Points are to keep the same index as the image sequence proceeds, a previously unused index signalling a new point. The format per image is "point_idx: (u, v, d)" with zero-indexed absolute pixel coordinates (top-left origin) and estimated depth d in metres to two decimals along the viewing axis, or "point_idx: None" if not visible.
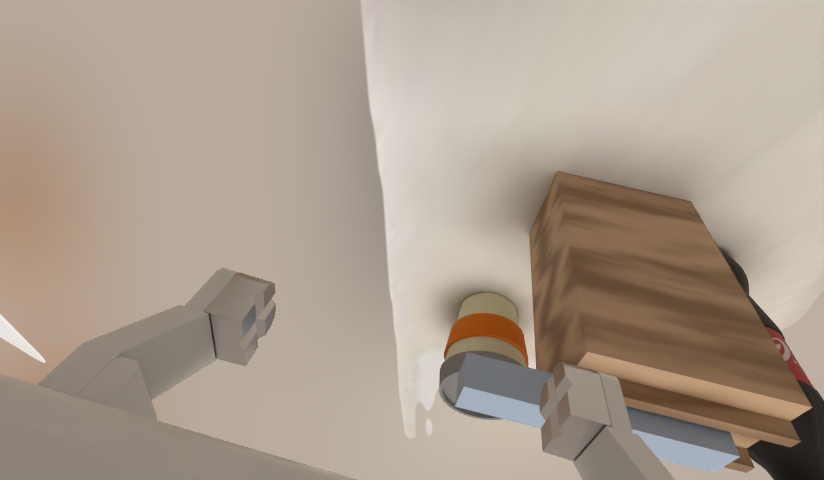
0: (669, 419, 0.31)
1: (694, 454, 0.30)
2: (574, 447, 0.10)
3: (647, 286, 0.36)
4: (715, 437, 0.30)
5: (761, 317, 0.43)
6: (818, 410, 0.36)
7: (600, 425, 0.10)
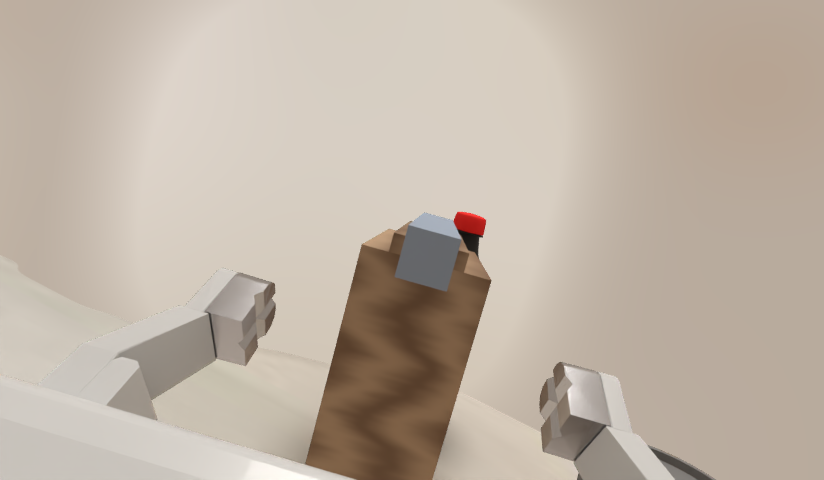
0: None
1: (435, 216, 0.40)
2: (574, 447, 0.10)
3: None
4: None
5: None
6: None
7: (600, 425, 0.10)
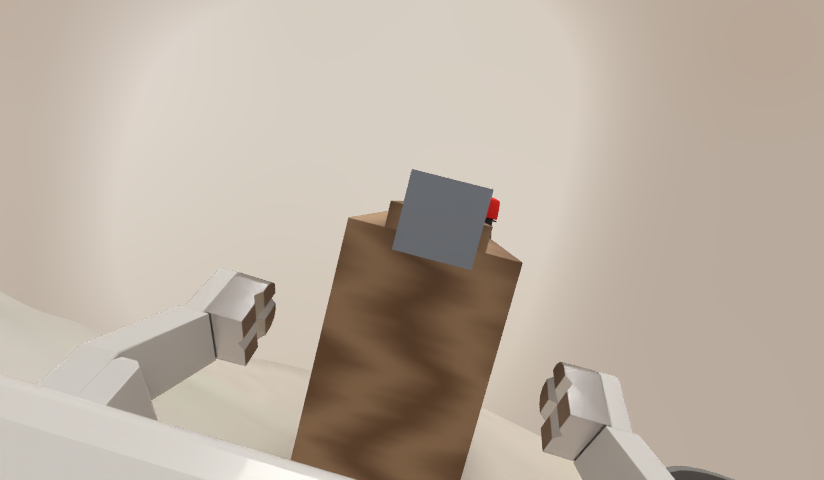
0: None
1: None
2: (574, 447, 0.10)
3: None
4: None
5: None
6: None
7: (600, 425, 0.10)
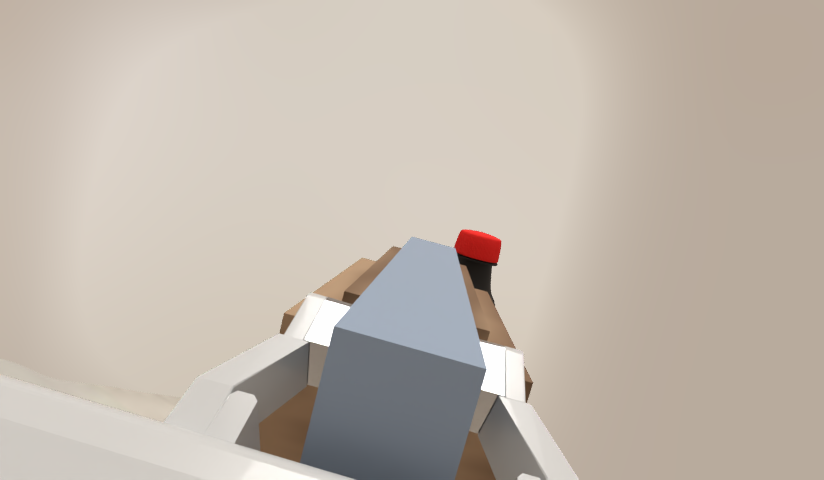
0: None
1: (428, 245, 0.25)
2: (475, 419, 0.10)
3: None
4: None
5: None
6: None
7: (494, 395, 0.10)
